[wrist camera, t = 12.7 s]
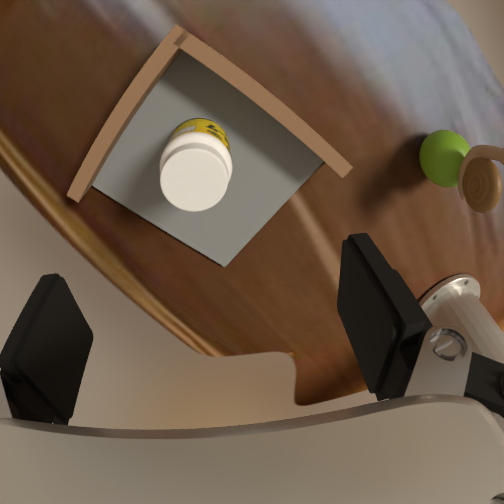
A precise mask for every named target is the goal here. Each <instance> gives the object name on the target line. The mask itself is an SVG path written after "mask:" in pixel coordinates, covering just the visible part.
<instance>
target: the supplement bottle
mask: <svg viewBox="0 0 504 504" xmlns="http://www.w3.org/2000/svg"><path fill="white" fill-rule="evenodd" d="M231 174H232V158H231V152H230V146H229V140H228V136H227V134H226V132H225V130H224V129H223V128H222V127H221V126H220V125H219V124H218V123H217V122H215V121H214V120H212V119H209V118H204V117H195V118H191V119H188V120H186V121H184V122H183V123H181V124H180V125H179V126H178V127H177V128H176V129H175V131H174V132H173V134H172V136H171V138H170V140H169V141H168V143H167V145H166V147H165V149H164V151H163V153H162V155H161V159H160V185H161V189H162V192H163V194H164V196H165V197H166V198H167V200H168V201H169V202H170V203H171V204H173V205H174V206H176V207H177V208H179V209H182V210H185V211H192V212H197V211H203V210H206V209H209V208H211V207H213V206H214V205H216V204H217V203H218V202H219V201H220V200H221V199H222V197H223V196H224V194H225V192H226V189H227V186H228V183H229V181H230V178H231Z"/></svg>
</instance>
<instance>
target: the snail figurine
mask: <svg viewBox="0 0 504 504" xmlns="http://www.w3.org/2000/svg"><path fill="white" fill-rule="evenodd" d="M419 159H420V164H421V167H422V170H423V172H424V173H425V175H426V176H427V177H428V178H429V179H430V180H431V181H432V182H433V183H435V184H437V185H439V186H442V187H455V186H458V189H459V193H460V196H461V198H462V200H465V199H466V201H467V203H468V205H469V206H470V207H471V208H472V209H473V210H474V211H476V212H479V213H486V212H489V211H491V210H492V209H493V208H494V207H495V206H496V205H497V203H498V202H499V199H500V196H501V192H502V180H501V176H500V173H499V170H498V168H497V167H496V165H495V164H494V163H493V162H492V161H491V160H496V161H500V162H501V163H502V164H503V165H504V148H499V147H496V146H490V145H477V146H474V147H472V148H471V149H470V147H469V145H468V143H467V142H466V141H465V140H464V138H463V137H461V136H460V135H459V134H457V133H455V132H453V131H449V130H438V131H435V132H433V133H431V134H430V135H428V136H427V137H426V138H425V140H424V141H423V143H422V145H421V148H420V153H419ZM490 159H491V160H490Z"/></svg>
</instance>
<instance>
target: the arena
mask: <svg viewBox="0 0 504 504" xmlns="http://www.w3.org/2000/svg"><path fill="white" fill-rule="evenodd" d="M195 117H204V118H209V119H212V120H214V121H215V122H217V123H218V124H219V125H220V126H221V127H222V128H223V129H224V130H225V132H226V134H227V136H228V140H229V146H230V152H231V158H232V174H231V178H230V181H229V183H228V186H227V189H226V192H225V194H224V196H223V197H222V199H221V200H220V201H219V202H218V203H217V204H216V205H214V206H213V207H211V208H209V209H206V210H203V211H197V212H192V211H185V210H182V209H179V208H177V207H176V206H174V205H173V204H171V203H170V202H169V201H168V200H167V198H166V197H165V196H164V194H163V192H162V189H161V185H160V159H161V155H162V153H163V151H164V149H165V147H166V145H167V143H168V141H169V140H170V138H171V136H172V134H173V132H174V131H175V129H176V128H177V127H178V126H179V125H180V124H181V123H183V122H184V121H186V120H188V119H191V118H195ZM324 161H325V162H326V163H327V164H328V165H329V166H330V167H331V168H332V169H333V170H334V171H335V172H337V173H338V174H339V175H340V176H341V177H342V178H344V176H345V175H346V174H347V173H348V172H349V171H350V170H351V169H352V168H353V167H352V166H351V165H350V164H349V163H348V162H347V161H346V160H345V159H344V158H343V157H342V156H341V155H340V154H339V153H338V152H337V151H336V150H335V149H333V148H332V147H331V146H330V145H329V144H328V143H327V142H326V141H325V140H324V139H323V138H322V137H321V136H320V135H318V134H317V133H316V132H315V131H314V130H313V129H312V128H311V127H310V126H309V125H307V124H306V123H305V122H304V121H303V120H302V119H301V118H300V117H298V116H297V115H296V114H295V113H294V112H293V111H291V110H290V109H289V108H288V107H287V106H286V105H284V104H283V103H282V102H281V101H280V100H278V99H277V98H276V97H275V96H274V95H272V94H271V93H270V92H269V91H267V90H266V89H265V88H264V87H263V86H261V85H260V84H259V83H257V82H256V81H255V80H254V79H252V78H251V77H250V76H249V75H247V74H246V73H245V72H243V71H242V70H241V69H239V68H238V67H237V66H235V65H234V64H233V63H231V62H230V61H229V60H227V59H226V58H225V57H223V56H222V55H220V54H219V53H218V52H216V51H215V50H213V49H212V48H211V47H209V46H208V45H206V44H205V43H203V42H202V41H200V40H199V39H197V38H196V37H195V36H193V35H192V34H190V33H189V32H187V31H185V30H184V29H182V28H181V27H179V26H178V25H175V27H174V28H173V29H172V30H171V31H170V33H169V34H168V35H167V36H166V37H165V39H164V40H163V41H162V42H161V44H160V45H159V46H158V47H157V49H156V50H155V51H154V53H153V54H152V55H151V57H150V58H149V59H148V61H147V62H146V63H145V65H144V66H143V67H142V69H141V70H140V71H139V73H138V74H137V76H136V77H135V78H134V80H133V81H132V83H131V84H130V86H129V87H128V89H127V90H126V91H125V93H124V94H123V96H122V97H121V99H120V101H119V102H118V104H117V105H116V107H115V108H114V110H113V111H112V113H111V115H110V116H109V118H108V119H107V121H106V123H105V124H104V126H103V128H102V129H101V131H100V133H99V134H98V136H97V138H96V140H95V141H94V143H93V145H92V147H91V149H90V150H89V152H88V154H87V156H86V158H85V160H84V161H83V163H82V165H81V167H80V169H79V171H78V173H77V175H76V177H75V179H74V181H73V183H72V185H71V187H70V189H69V191H68V193H67V196H69V197H70V198H72V199H73V200H75V201H77V202H79V201H80V200H81V199H82V197H83V196H84V195H85V193H86V192H87V191H88V190H89V188H90V187H91V186H94V187H95V188H97V189H98V190H100V191H101V192H103V193H105V194H106V195H108V196H109V197H111V198H113V199H114V200H116V201H117V202H119V203H121V204H122V205H124V206H125V207H127V208H129V209H130V210H132V211H133V212H135V213H137V214H138V215H140V216H141V217H143V218H145V219H146V220H148V221H150V222H151V223H153V224H154V225H156V226H158V227H159V228H161V229H163V230H164V231H166V232H167V233H169V234H171V235H172V236H174V237H176V238H177V239H179V240H181V241H182V242H184V243H186V244H187V245H189V246H191V247H192V248H194V249H196V250H197V251H199V252H201V253H202V254H204V255H206V256H207V257H209V258H211V259H212V260H214V261H216V262H217V263H219V264H221V265H222V266H224V267H225V266H226V265H227V264H228V263H229V262H230V261H231V260H232V259H233V258H234V257H235V256H236V255H237V253H238V252H239V251H240V250H241V249H242V248H243V247H244V246H245V245H246V244H247V243H248V242H249V241H250V240H251V238H252V237H253V236H254V235H255V234H256V233H257V232H258V231H259V230H260V229H261V228H262V227H263V226H264V225H265V223H266V222H267V221H268V220H269V219H270V218H271V217H272V216H273V215H274V214H275V213H276V212H277V211H278V210H279V209H280V207H281V206H282V205H283V204H284V203H285V202H286V201H287V200H288V199H289V198H290V197H291V196H292V195H293V194H294V193H295V192H296V190H297V189H298V188H299V187H300V186H301V185H302V184H303V183H304V182H305V181H306V180H307V179H308V178H309V177H310V176H311V175H312V173H313V172H314V171H315V170H316V169H317V168H318V167H319V166H320V165H321V164H322V163H323V162H324Z"/></svg>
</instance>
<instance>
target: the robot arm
mask: <svg viewBox="0 0 504 504" xmlns="http://www.w3.org/2000/svg"><path fill="white" fill-rule="evenodd" d="M479 297H480V286H479V283H478V282H477V281H476V279H475V278H474V277H472V276H471V275H468V274H459V275H455V276H452V277H449V278H447V279H445V280H444V281H442V282H440V283H439V284H437V285H436V286H435V287H433V288H432V289H431V290H430V291H429V292H428V293H427V294H426V295H425V296H424V297H423V298H422V299H421V300H420V302H419V303H418V301H417V300H416V298H415V297H414V295H413V294H412V292H411V291H410V289H409V288H408V286H407V285H406V283H405V282H404V280H403V279H402V277H401V276H400V274H399V273H398V272H397V271H396V270H394V269H392V268H391V267H390V265H389V264H388V262H387V261H386V259H385V258H384V256H383V255H382V254H381V252H380V251H379V249H378V248H377V246H376V245H375V244H374V242H373V241H372V240H371V238H370V237H369V235H368V234H367V233H359V234H351V235H349V236H348V238H347V240H343V242H342V254H341V267H340V279H339V289H338V299H337V308H338V313H339V315H340V318H341V320H342V323H343V325H344V328H345V330H346V333H347V335H348V338H349V340H350V343H351V345H352V348H353V351H354V353H355V356H356V358H357V361H358V364H359V366H360V369H361V371H362V374H363V377H364V379H365V382H366V385H367V388H368V390H369V392H370V393H375V395H376V397H377V400H378V401H380V402H375V403H370V404H365V405H361V406H357V407H352V408H348V409H343V410H338V411H333V412H327V413H322V414H316V415H310V416H305V417H299V418H293V419H286V420H280V421H273V422H265V423H258V424H248V425H238V426H227V427H215V428H199V429H175V430H174V429H172V430H130V429H105V428H90V427H77V426H68V421H69V419H70V418H71V417H72V416H73V412H74V407H75V404H76V399H77V395H78V392H79V388H80V384H81V380H82V377H83V373H84V370H85V366H86V362H87V359H88V356H89V352H90V349H91V346H92V342H93V333H92V330H91V329H90V327H89V325H88V323H87V321H86V320H85V318H84V316H83V314H82V312H81V311H80V309H79V307H78V305H77V303H76V301H75V299H74V297H73V295H72V293H71V291H70V289H69V287H68V285H67V283H66V281H65V279H64V278H63V277H60V275H59V274H56V273H55V274H48V275H43V276H42V277H41V278H40V281H39V282H38V284H37V285H36V287H35V289H34V291H33V292H32V294H31V296H30V297H29V299H28V301H27V303H26V305H25V307H24V308H23V310H22V312H21V314H20V316H19V318H18V319H17V321H16V323H15V325H14V327H13V329H12V331H11V333H10V335H9V337H8V339H7V341H6V343H5V345H4V347H3V349H2V352H1V354H0V368H1V371H0V504H504V333H503V332H502V331H501V329H500V328H499V326H498V325H497V324H496V322H495V321H494V319H493V318H492V317H491V315H490V314H489V313H488V311H487V310H486V309H485V307H484V306H483V305H482V303H481V302H480V301H479ZM388 398H389V400H385V401H381V400H384V399H388ZM52 423H53V424H52Z"/></svg>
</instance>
